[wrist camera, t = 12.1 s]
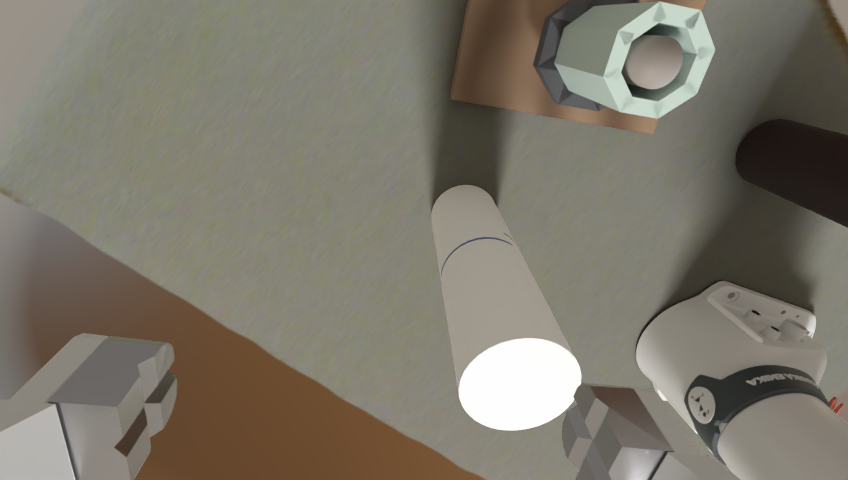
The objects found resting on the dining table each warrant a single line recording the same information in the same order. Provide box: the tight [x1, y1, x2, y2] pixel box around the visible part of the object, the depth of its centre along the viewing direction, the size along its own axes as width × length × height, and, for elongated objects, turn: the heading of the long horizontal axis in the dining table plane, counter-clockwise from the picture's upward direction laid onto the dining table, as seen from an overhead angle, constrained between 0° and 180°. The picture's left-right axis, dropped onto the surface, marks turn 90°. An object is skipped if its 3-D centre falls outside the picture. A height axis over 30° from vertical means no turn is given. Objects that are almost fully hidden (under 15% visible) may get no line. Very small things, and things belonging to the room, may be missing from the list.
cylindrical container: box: [431, 185, 581, 430], centre depth 37 cm, size 7×7×25 cm
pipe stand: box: [450, 0, 706, 134], centre depth 34 cm, size 20×12×16 cm, turn 80°
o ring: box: [533, 0, 640, 111], centre depth 36 cm, size 9×9×2 cm
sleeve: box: [554, 1, 715, 119], centre depth 31 cm, size 6×6×10 cm
